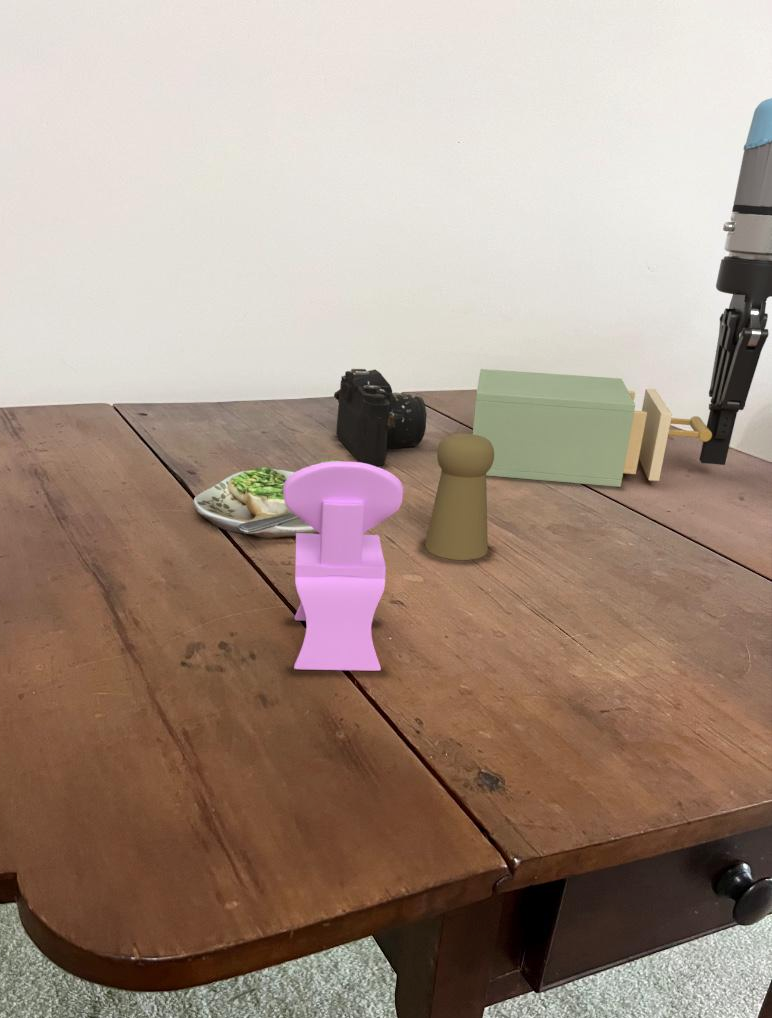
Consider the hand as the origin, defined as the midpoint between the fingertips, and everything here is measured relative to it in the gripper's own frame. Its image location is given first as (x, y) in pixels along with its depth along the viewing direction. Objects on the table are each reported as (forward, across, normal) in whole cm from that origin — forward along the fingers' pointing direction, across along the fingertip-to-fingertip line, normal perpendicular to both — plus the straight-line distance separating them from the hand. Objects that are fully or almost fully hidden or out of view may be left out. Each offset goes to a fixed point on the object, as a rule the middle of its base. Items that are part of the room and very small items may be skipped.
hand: (712, 462), depth 112 cm
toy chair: (+2, +54, -37) cm, 66 cm away
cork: (+2, +32, -29) cm, 43 cm away
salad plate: (+2, +26, -47) cm, 54 cm away
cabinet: (+2, 0, -20) cm, 20 cm away
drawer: (+1, 0, -12) cm, 13 cm away
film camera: (+2, -1, -41) cm, 41 cm away
